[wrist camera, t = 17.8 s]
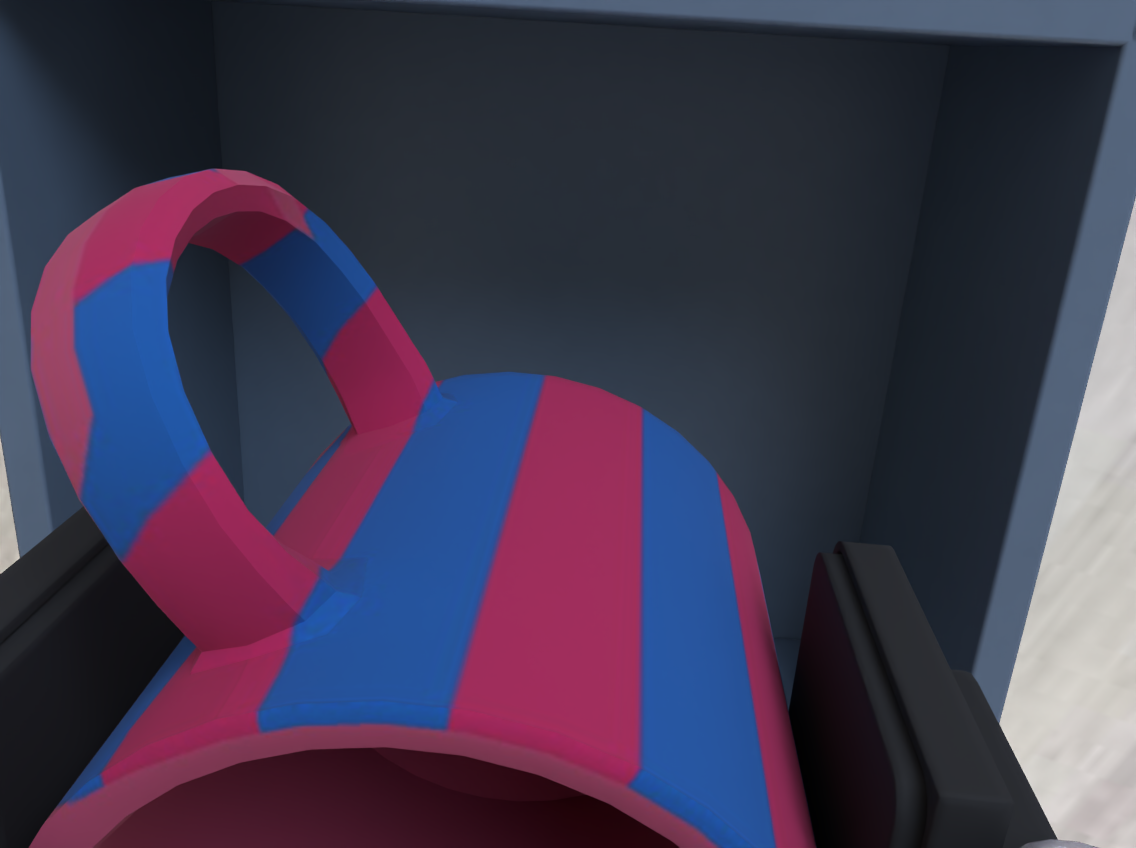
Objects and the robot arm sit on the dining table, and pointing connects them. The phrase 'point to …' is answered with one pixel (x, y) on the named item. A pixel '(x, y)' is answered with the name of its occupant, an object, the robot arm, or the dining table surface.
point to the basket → (634, 242)
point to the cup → (403, 582)
